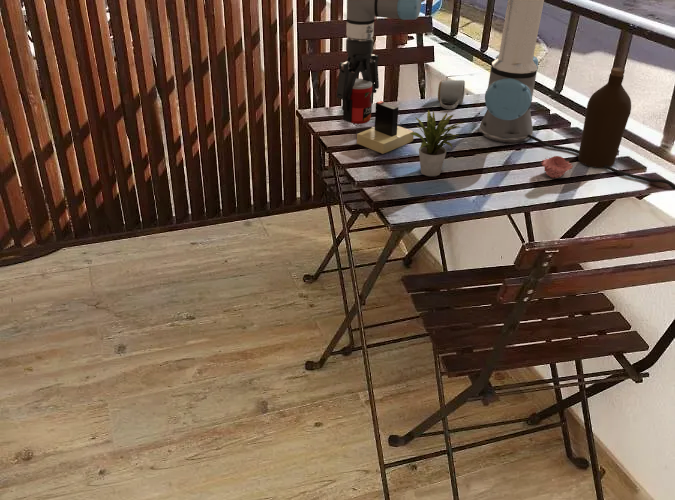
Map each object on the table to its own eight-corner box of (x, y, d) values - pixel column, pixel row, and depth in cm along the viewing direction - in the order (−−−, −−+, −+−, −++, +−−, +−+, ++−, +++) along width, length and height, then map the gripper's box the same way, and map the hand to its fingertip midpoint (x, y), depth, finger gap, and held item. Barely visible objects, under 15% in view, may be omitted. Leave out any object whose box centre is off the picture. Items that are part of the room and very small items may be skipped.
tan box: (383, 154, 178) (384, 143, 176) (355, 143, 184) (356, 132, 182) (414, 141, 186) (414, 131, 184) (386, 131, 192) (386, 121, 190)
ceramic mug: (438, 97, 217) (441, 75, 213) (463, 100, 215) (466, 77, 211) (435, 109, 208) (437, 86, 204) (460, 111, 207) (463, 88, 202)
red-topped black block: (396, 134, 182) (398, 106, 178) (391, 136, 181) (393, 108, 176) (379, 128, 186) (381, 100, 181) (374, 130, 185) (375, 102, 180)
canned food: (368, 125, 186) (370, 87, 180) (341, 122, 187) (341, 85, 181) (372, 115, 192) (374, 79, 186) (346, 113, 193) (347, 77, 187)
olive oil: (587, 170, 170) (610, 76, 157) (568, 154, 179) (588, 64, 166) (624, 167, 172) (649, 74, 159) (603, 151, 181) (625, 62, 167)
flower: (552, 167, 172) (556, 148, 169) (576, 178, 166) (581, 158, 163) (531, 174, 168) (535, 154, 165) (556, 186, 162) (560, 166, 159)
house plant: (445, 191, 160) (452, 128, 151) (394, 178, 165) (398, 117, 156) (465, 169, 170) (473, 110, 161) (417, 158, 176) (421, 100, 167)
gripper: (343, 47, 168) (341, 130, 181) (395, 33, 181) (390, 112, 193) (323, 41, 173) (323, 122, 185) (375, 28, 185) (371, 105, 197)
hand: (357, 117), depth 189 cm, fingers closed on canned food, 8 cm apart
